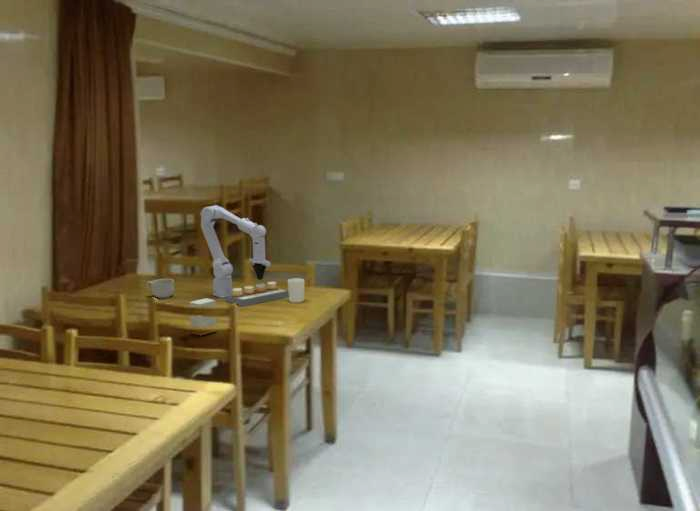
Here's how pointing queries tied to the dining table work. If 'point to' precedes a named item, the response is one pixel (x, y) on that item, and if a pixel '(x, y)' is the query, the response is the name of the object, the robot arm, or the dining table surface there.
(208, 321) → the small box
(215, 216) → the robot arm
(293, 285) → the white cup
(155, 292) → the teacup
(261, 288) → the button
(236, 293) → the button
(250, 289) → the button
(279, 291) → the board
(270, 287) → the button
